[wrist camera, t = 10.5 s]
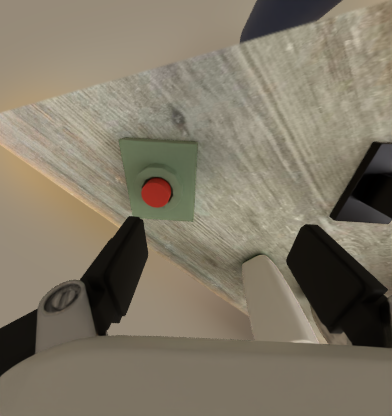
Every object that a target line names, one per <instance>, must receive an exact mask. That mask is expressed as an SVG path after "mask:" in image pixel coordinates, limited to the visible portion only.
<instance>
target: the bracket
mask: <svg viewBox="0 0 392 416" xmlns="http://www.w3.org/2000/svg"><path fill="white" fill-rule="evenodd" d="M330 217H331V218H332V219H333V220H334V221H349V222H365V223H380V224H389V223H390V222H391V221H392V143H384V142H373V144H372V146H371V147H370V149H369V151H368V152H367V154H366V156H365V158H364V159H363V161H362V163H361V164H360V166H359V168H358V169H357V171H356V173H355V174H354V176H353V178H352V180H351V181H350V183H349V185H348V186H347V188H346V190H345V191H344V193H343V195H342V196H341V198H340V200H339V202H338V203H337V205H336V207H335V208H334V210H333V212H332V213H331V215H330Z"/></svg>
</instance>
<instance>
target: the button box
mask: <svg viewBox="0 0 392 416" xmlns="http://www.w3.org/2000/svg"><path fill="white" fill-rule="evenodd" d="M119 145H120V151H121V156H122V161H123V167H124V172H125V177H126V183H127V188H128V194H129V199H130V204H131V210H132V215H133V216H135V217H140V218H145V219H160V220H176V221H191V222H193V219H194V203H195V185H196V167H197V148H198V142H193V141H177V140H160V139H144V138H128V137H125V138H122V139H119ZM152 178H161V179H163V180H165V181H166V182H167V183H168V184H169V185H170V187H171V196H170V198H169V201H168V203H167V204H166V205H165V206H163V207H159V208H156V207H151V206H149V205H148V204H146V203H145V202H144V200H143V198H142V195H141V191H142V188H143V187H144V185H145V184H146V183H147V182H148V181H149V180H150V179H152Z"/></svg>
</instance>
